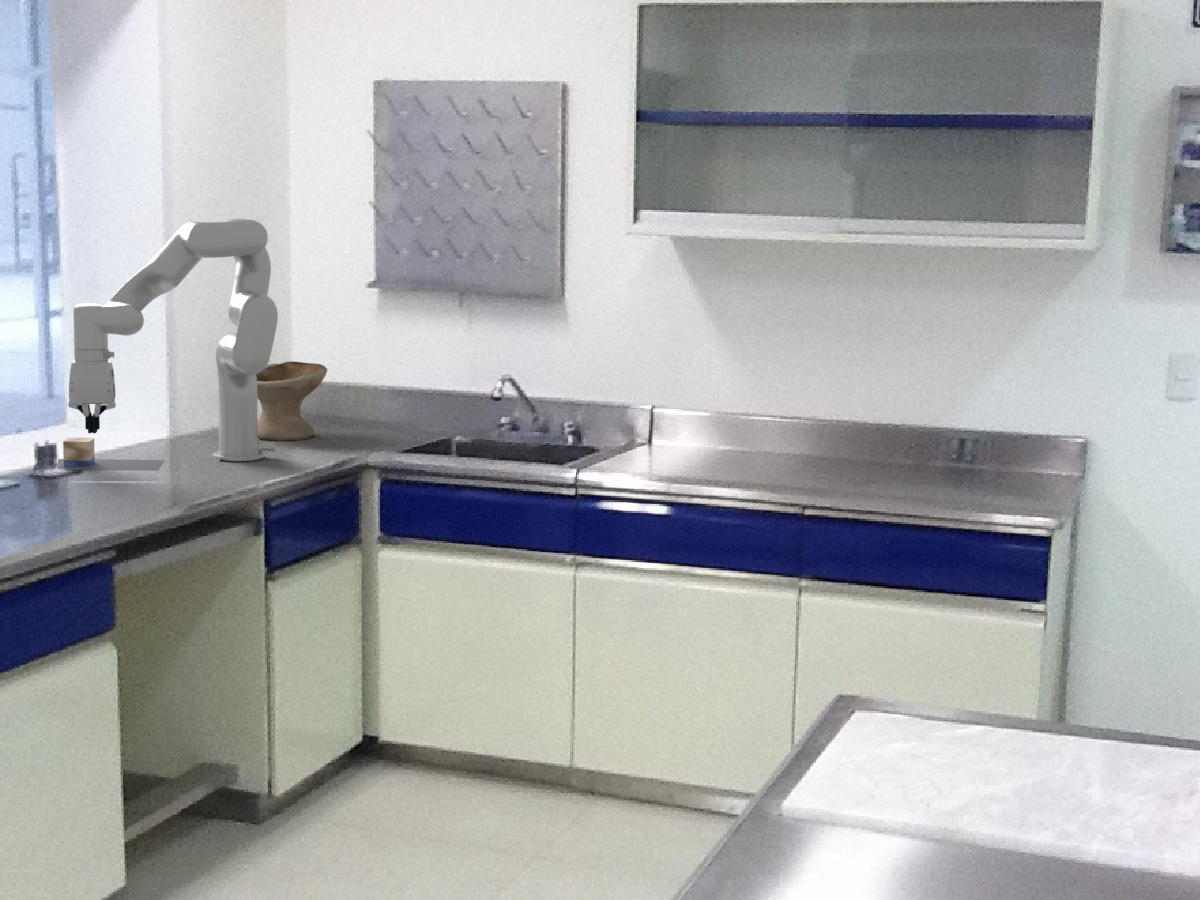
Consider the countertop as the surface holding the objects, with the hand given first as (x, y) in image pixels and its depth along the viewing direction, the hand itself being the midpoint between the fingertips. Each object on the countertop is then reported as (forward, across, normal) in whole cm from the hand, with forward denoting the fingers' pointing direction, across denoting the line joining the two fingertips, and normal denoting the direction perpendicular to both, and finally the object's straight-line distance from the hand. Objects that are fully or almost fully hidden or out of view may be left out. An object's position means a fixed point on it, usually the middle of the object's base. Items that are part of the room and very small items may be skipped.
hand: (92, 432), depth 332 cm
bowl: (+9, -42, -50) cm, 66 cm away
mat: (+8, -3, 0) cm, 9 cm away
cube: (+2, +3, 0) cm, 4 cm away
